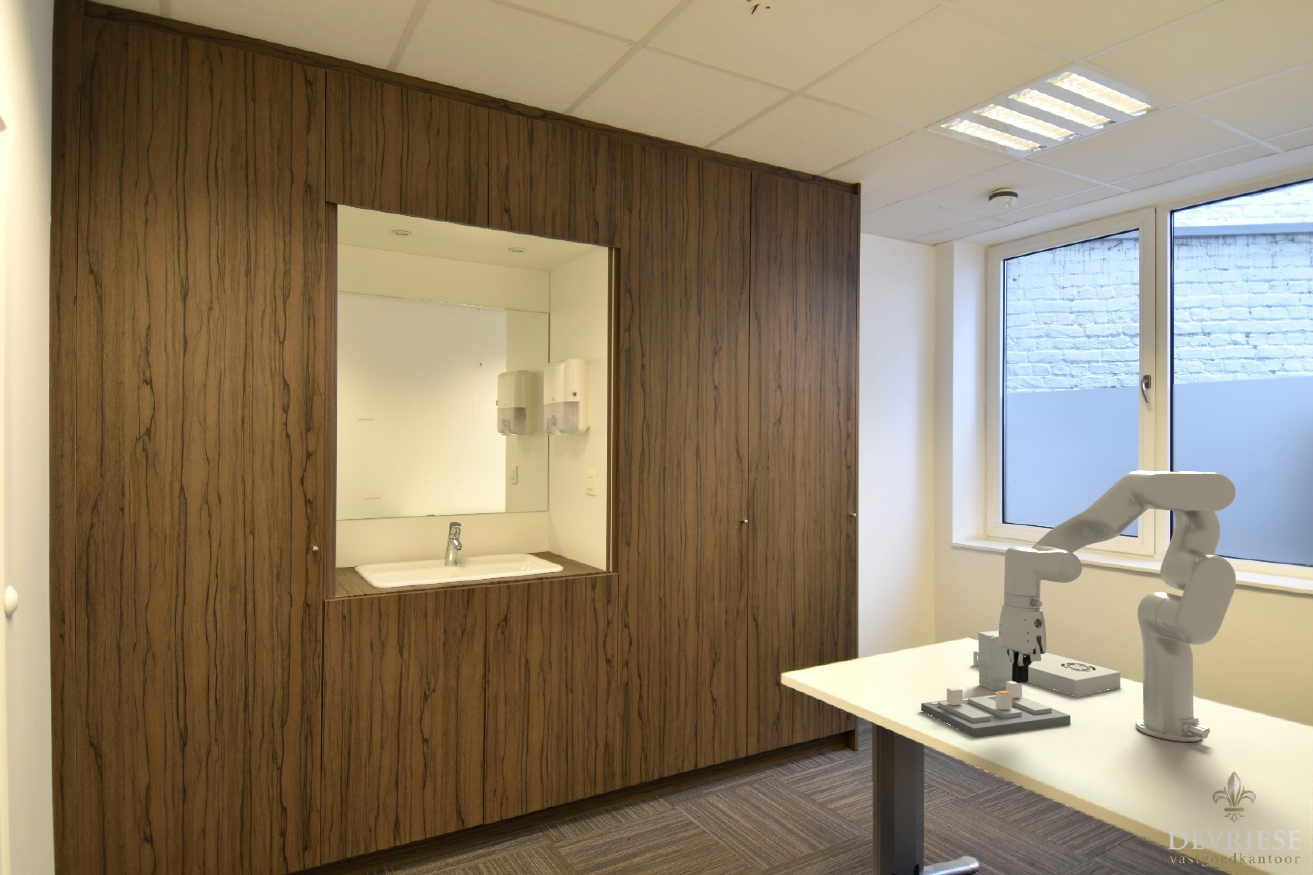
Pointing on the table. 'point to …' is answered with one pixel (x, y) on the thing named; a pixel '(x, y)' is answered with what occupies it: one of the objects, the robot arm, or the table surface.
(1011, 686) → the block
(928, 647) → the table surface
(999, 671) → the skincare box
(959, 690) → the breaker
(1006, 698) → the block
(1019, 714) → the breaker panel
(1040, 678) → the power supply unit
